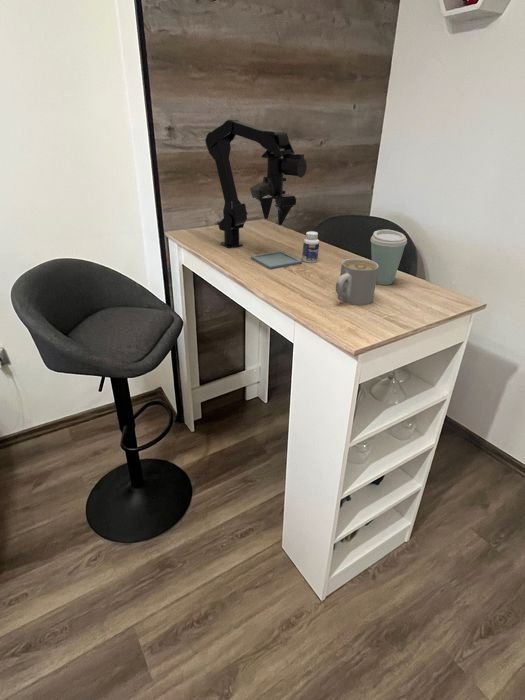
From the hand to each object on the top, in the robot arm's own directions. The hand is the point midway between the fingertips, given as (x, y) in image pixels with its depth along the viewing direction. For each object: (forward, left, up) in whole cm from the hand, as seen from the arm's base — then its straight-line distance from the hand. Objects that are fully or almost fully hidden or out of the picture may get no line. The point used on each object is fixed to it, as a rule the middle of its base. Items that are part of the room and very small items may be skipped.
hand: (272, 221), depth 147 cm
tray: (+6, -2, -12) cm, 14 cm away
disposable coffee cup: (+38, +17, -12) cm, 44 cm away
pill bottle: (+11, +9, -12) cm, 19 cm away
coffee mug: (+44, -1, -12) cm, 46 cm away
